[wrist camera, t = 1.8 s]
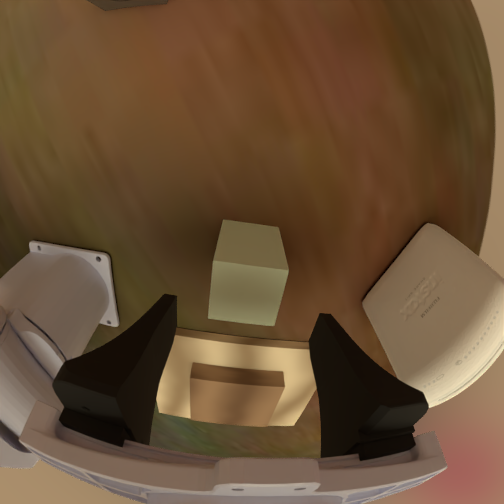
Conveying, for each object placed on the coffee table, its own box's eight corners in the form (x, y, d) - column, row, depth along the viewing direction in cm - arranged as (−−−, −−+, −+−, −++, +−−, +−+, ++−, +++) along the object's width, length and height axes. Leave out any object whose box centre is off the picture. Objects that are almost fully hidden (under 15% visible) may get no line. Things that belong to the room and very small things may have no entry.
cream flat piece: (160, 406, 31) (156, 424, 29) (148, 322, 24) (139, 344, 21) (292, 419, 33) (294, 437, 30) (334, 343, 26) (341, 366, 23)
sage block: (217, 267, 21) (207, 318, 16) (223, 219, 20) (213, 260, 14) (268, 274, 22) (273, 326, 16) (278, 227, 20) (289, 270, 15)
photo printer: (426, 211, 19) (530, 297, 8) (450, 237, 20) (537, 321, 9) (352, 302, 23) (402, 422, 12) (381, 318, 24) (431, 424, 13)
